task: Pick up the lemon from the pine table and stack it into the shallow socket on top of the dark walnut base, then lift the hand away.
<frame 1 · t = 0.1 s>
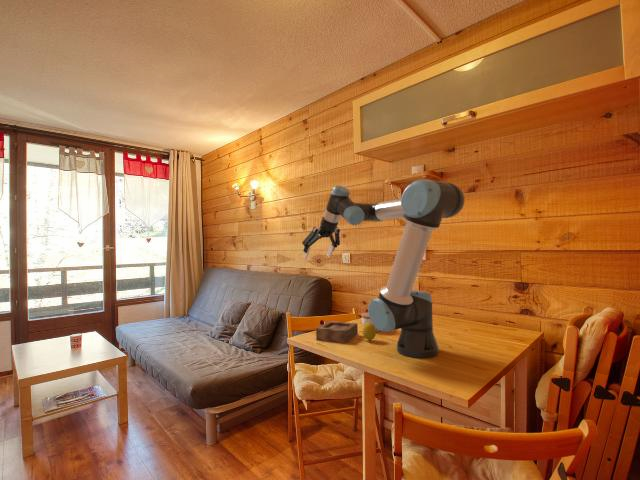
hand: (316, 257, 157), 36 cm above the table, tool tilted 35°, fingers open, 13 cm apart
lidded jar: (373, 330, 156), on the table
lemon: (369, 341, 139), on the table
walnut base: (337, 337, 146), on the table
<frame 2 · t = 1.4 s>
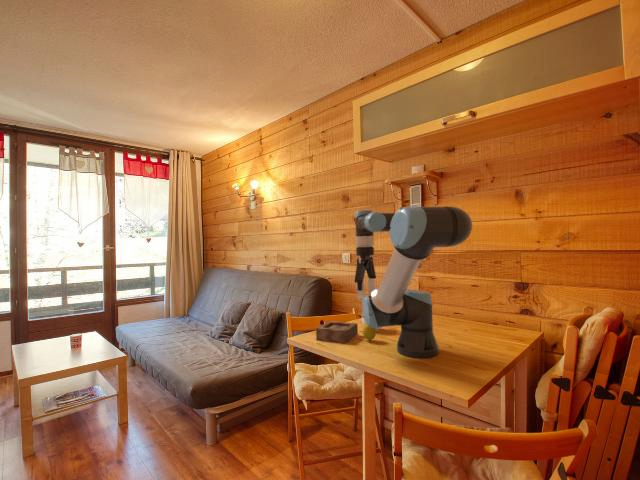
hand: (366, 295, 140), 19 cm above the table, tool pointing down, fingers open, 13 cm apart
nothing on the table moved.
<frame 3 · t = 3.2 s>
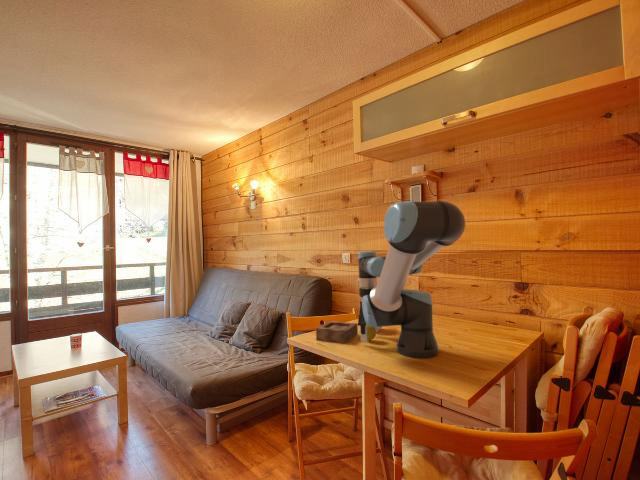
hand: (369, 337, 139), 2 cm above the table, tool pointing down, fingers open, 13 cm apart
nothing on the table moved.
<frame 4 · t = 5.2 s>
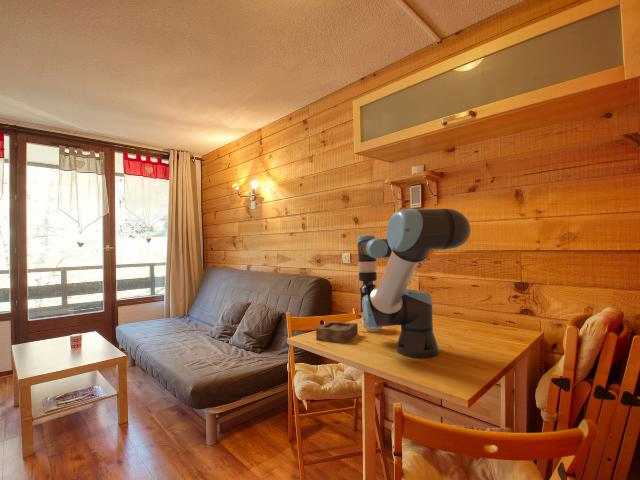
hand: (369, 325, 139), 7 cm above the table, tool pointing down, fingers closed on lemon, 5 cm apart
lemon: (369, 327, 139), point 6 cm above the table, touching gripper
everything else where it was.
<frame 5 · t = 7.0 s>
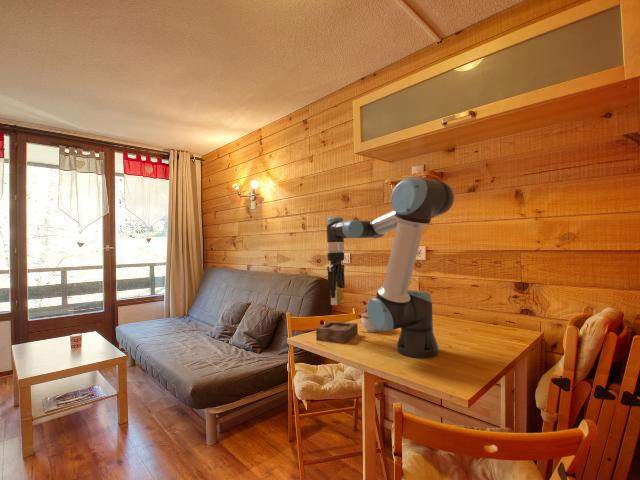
hand: (337, 303, 146), 15 cm above the table, tool pointing down, fingers closed on lemon, 5 cm apart
lemon: (337, 304, 146), point 15 cm above the table, touching gripper
everything else where it was.
when the fingers open (6 cm above the table, at t = 9.0 s): lemon drops 1 cm, resting on walnut base.
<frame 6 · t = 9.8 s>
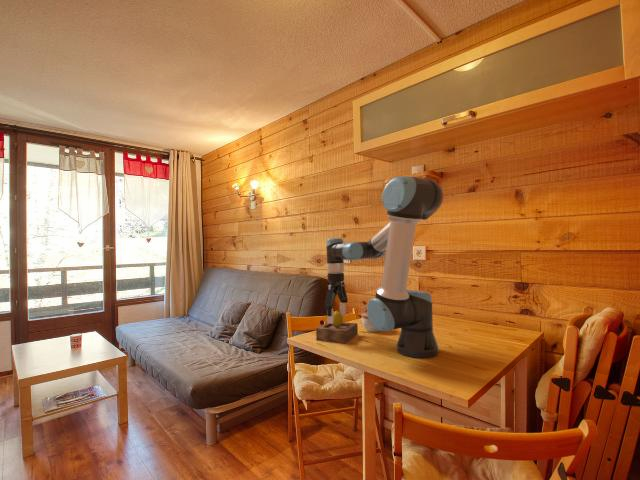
hand: (337, 320, 146), 8 cm above the table, tool pointing down, fingers open, 13 cm apart
lemon: (337, 328, 146), point 4 cm above the table, touching walnut base
everything else where it was.
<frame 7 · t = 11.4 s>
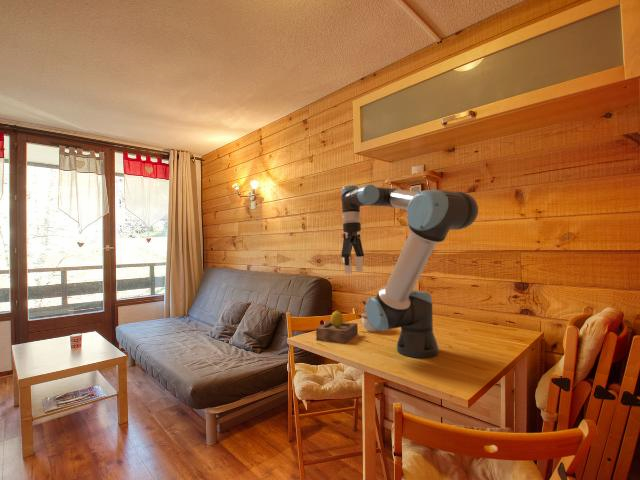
hand: (354, 272, 138), 29 cm above the table, tool pointing down, fingers open, 13 cm apart
nothing on the table moved.
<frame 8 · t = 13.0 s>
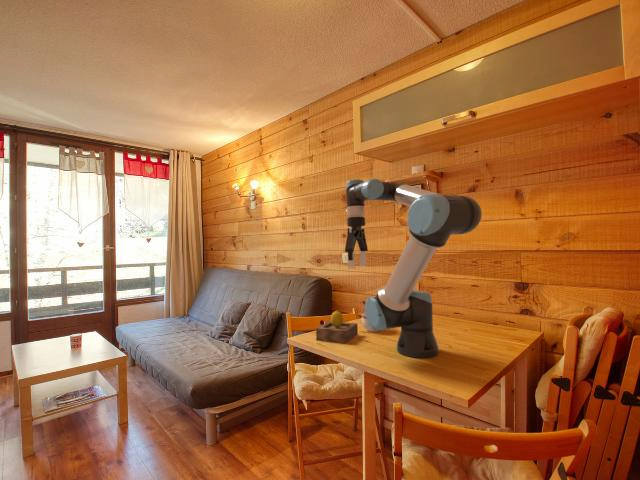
hand: (357, 267, 137), 32 cm above the table, tool pointing down, fingers open, 13 cm apart
nothing on the table moved.
at the end: lemon inside the target area on the walnut base (0.2 cm from its centre), point 3.8 cm above the walnut base's base; the gripper is holding nothing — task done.
